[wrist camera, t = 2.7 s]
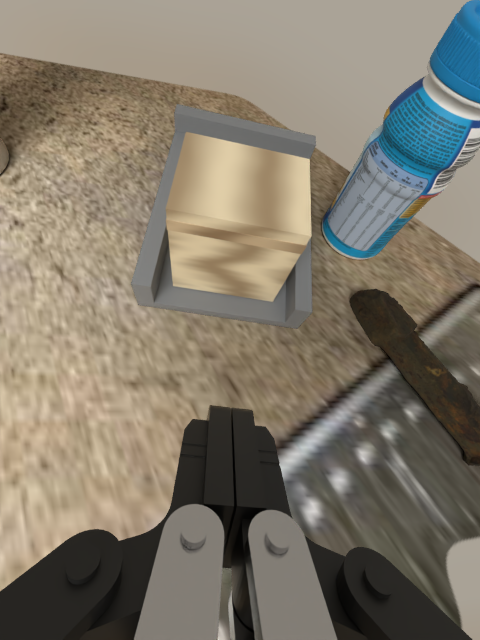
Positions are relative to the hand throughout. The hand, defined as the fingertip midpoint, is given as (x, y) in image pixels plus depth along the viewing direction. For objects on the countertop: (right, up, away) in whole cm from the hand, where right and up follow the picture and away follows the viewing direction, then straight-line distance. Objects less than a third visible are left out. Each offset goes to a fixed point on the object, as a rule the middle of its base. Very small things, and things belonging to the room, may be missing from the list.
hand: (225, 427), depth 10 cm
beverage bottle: (+14, +15, +26) cm, 33 cm away
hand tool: (+17, -2, +20) cm, 26 cm away
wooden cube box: (-1, +10, +20) cm, 22 cm away
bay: (-1, +14, +23) cm, 27 cm away
